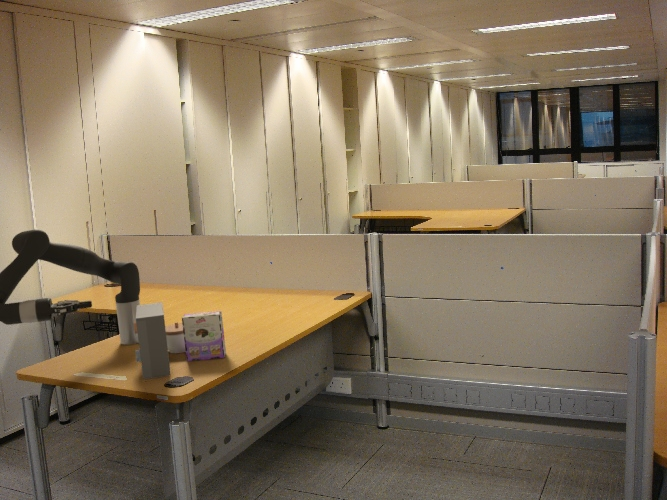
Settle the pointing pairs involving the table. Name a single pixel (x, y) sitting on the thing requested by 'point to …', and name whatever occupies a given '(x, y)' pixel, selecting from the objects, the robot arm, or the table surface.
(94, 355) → the table surface
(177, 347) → the lidded container
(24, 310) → the robot arm
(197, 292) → the table surface
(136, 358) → the slate blue button
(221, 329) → the candy box
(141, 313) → the console panel
